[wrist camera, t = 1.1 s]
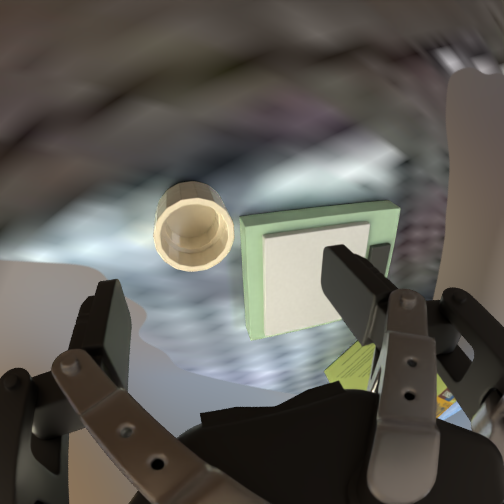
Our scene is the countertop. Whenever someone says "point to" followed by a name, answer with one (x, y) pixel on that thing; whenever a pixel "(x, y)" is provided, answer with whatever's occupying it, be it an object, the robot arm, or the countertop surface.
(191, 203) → the beige cup
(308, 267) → the scale
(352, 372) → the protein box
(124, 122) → the countertop surface
